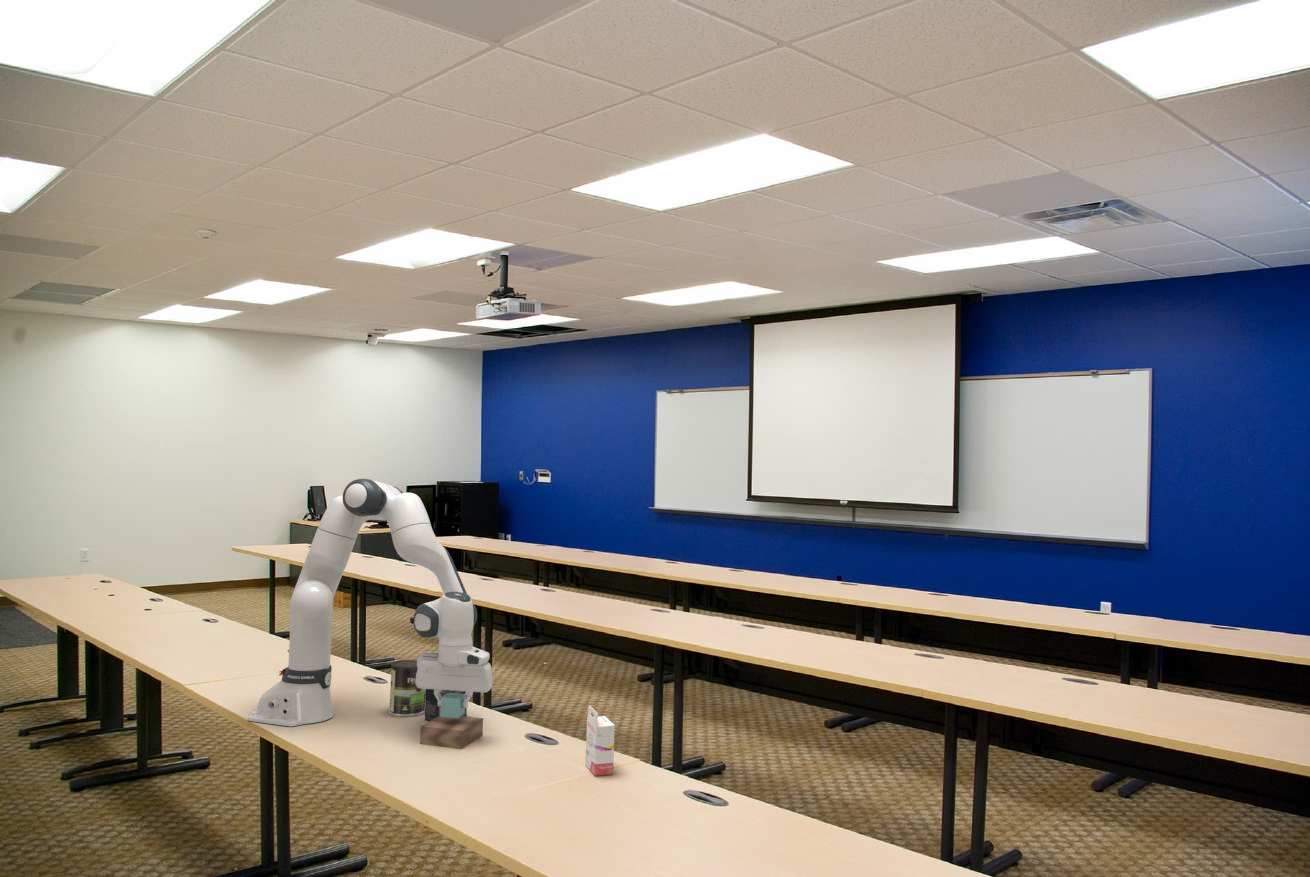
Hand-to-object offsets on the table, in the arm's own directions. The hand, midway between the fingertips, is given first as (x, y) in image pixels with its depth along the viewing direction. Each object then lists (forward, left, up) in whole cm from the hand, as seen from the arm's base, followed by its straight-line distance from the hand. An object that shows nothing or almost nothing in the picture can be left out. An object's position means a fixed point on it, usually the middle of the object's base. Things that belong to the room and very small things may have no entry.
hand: (452, 706), depth 226 cm
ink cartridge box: (+42, -15, -9) cm, 46 cm away
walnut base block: (0, 0, -9) cm, 9 cm away
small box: (-8, +18, -9) cm, 22 cm away
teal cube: (0, 0, -2) cm, 2 cm away
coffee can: (-21, +22, -9) cm, 32 cm away
